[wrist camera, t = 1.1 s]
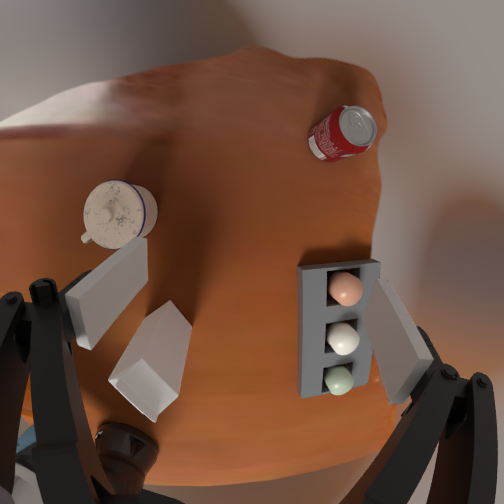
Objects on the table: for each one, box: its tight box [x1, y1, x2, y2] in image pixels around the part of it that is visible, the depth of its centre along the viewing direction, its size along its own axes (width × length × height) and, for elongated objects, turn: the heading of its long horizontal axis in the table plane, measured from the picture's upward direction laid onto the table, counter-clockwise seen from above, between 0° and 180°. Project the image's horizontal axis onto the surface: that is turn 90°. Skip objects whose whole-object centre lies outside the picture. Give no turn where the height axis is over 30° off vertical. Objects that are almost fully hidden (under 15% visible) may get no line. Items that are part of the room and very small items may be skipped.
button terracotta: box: [327, 271, 363, 306], centre depth 43 cm, size 5×5×4 cm
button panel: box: [297, 259, 380, 399], centre depth 47 cm, size 25×14×3 cm, turn 3°
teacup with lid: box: [81, 180, 158, 249], centre depth 36 cm, size 12×9×12 cm
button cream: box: [325, 321, 360, 355], centre depth 45 cm, size 5×5×4 cm
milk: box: [108, 300, 192, 423], centre depth 34 cm, size 6×6×22 cm
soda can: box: [308, 106, 377, 162], centre depth 37 cm, size 7×7×12 cm
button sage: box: [323, 364, 354, 395], centre depth 47 cm, size 5×5×4 cm
